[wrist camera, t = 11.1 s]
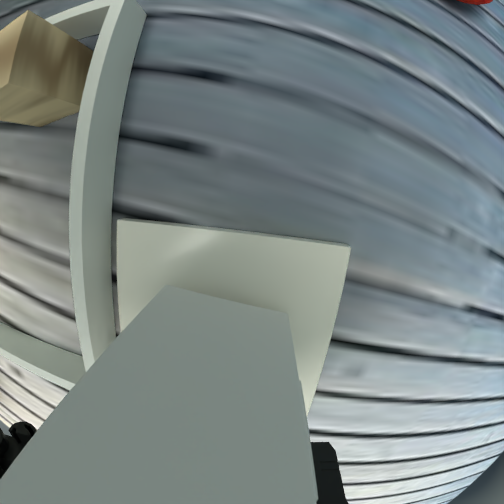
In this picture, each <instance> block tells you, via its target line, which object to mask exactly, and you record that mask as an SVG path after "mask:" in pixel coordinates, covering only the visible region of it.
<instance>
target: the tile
mask: <svg viewBox="0 0 504 504" xmlns="http://www.w3.org/2000/svg"><path fill="white" fill-rule="evenodd" d="M350 251H351V247H350V246H348V245H347V244H343V243H335V242H328V241H320V240H313V239H305V238H298V237H290V236H282V235H274V234H266V233H258V232H249V231H241V230H233V229H224V228H215V227H206V226H197V225H188V224H179V223H170V222H160V221H150V220H140V219H130V218H122V219H119V220H117V289H118V307H119V320H120V331H121V332H122V331H123V330H124V329H125V328H126V327H127V326H128V324H129V323H130V322H131V321H132V320H133V319H134V318H135V317H136V316H137V315H138V314H139V313H140V311H141V310H142V309H143V308H144V307H145V306H146V305H147V304H148V303H149V302H150V301H151V300H152V299H153V298H154V297H155V295H156V294H157V293H158V292H159V291H160V290H161V289H162V288H163V287H164V286H165V285H171V286H174V287H178V288H182V289H186V290H190V291H194V292H198V293H202V294H206V295H210V296H214V297H218V298H222V299H226V300H230V301H234V302H239V303H243V304H247V305H252V306H256V307H261V308H265V309H270V310H274V311H279V312H284V313H287V314H288V316H289V322H290V328H291V333H292V339H293V345H294V351H295V357H296V364H297V370H298V376H299V381H301V384H302V390H303V396H304V402H305V409H306V415H308V412H309V409H310V406H311V403H312V400H313V397H314V394H315V391H316V388H317V385H318V381H319V378H320V375H321V372H322V368H323V365H324V361H325V358H326V354H327V351H328V347H329V343H330V340H331V336H332V332H333V328H334V324H335V320H336V316H337V312H338V308H339V304H340V299H341V295H342V290H343V286H344V281H345V276H346V271H347V266H348V261H349V256H350Z"/></svg>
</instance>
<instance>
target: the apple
mask: <svg viewBox="0 0 504 504" xmlns="http://www.w3.org/2000/svg"><path fill="white" fill-rule="evenodd" d="M458 1H461V2H464V3H468V4H475V5H480V4H487V3H490V2H492V1H493V0H458Z"/></svg>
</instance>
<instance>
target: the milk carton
mask: <svg viewBox="0 0 504 504" xmlns="http://www.w3.org/2000/svg"><path fill="white" fill-rule="evenodd" d="M0 504H316V496H315V488H314V480H313V472H312V464H311V457H310V450H309V442H308V435H307V428H306V422H305V415H304V408H303V402H302V395H301V389H300V382H299V376H298V370H297V364H296V357H295V351H294V345H293V339H292V333H291V328H290V322H289V316H288V314H287V313H284V312H279V311H274V310H270V309H265V308H261V307H256V306H252V305H247V304H243V303H239V302H234V301H230V300H226V299H222V298H218V297H214V296H210V295H206V294H202V293H198V292H194V291H190V290H186V289H182V288H178V287H174V286H171V285H165V286H164V287H163V288H162V289H161V290H160V291H159V292H158V293H157V294H156V295H155V297H154V298H153V299H152V300H151V301H150V302H149V303H148V304H147V305H146V306H145V307H144V308H143V309H142V310H141V311H140V313H139V314H138V315H137V316H136V317H135V318H134V319H133V320H132V321H131V322H130V323H129V324H128V326H127V327H126V328H125V329H124V330H123V331H122V332H121V333H120V334H119V335H118V337H117V338H116V339H115V340H114V341H113V342H112V343H111V344H110V345H109V347H108V348H107V349H106V350H105V351H104V352H103V353H102V354H101V356H100V357H99V358H98V359H97V360H96V361H95V362H94V363H93V365H92V366H91V367H90V368H89V369H88V370H87V372H86V373H85V374H84V375H83V376H82V377H81V378H80V380H79V381H78V382H77V383H76V384H75V385H74V387H73V388H72V389H71V390H70V391H69V393H68V394H67V395H66V396H65V397H64V399H63V400H62V401H61V402H60V403H59V405H58V406H57V407H56V408H55V409H54V411H53V412H52V413H51V414H50V415H49V417H48V418H47V419H46V420H45V422H44V423H43V424H42V425H41V427H40V428H39V429H38V430H37V432H36V433H35V434H34V435H33V437H32V438H31V439H30V441H29V442H28V443H27V444H26V446H25V447H24V448H23V450H22V451H21V452H20V454H19V455H18V456H17V457H16V459H15V460H14V461H13V463H12V464H11V465H10V467H9V468H8V470H7V471H6V472H5V474H4V475H3V476H2V478H1V479H0Z"/></svg>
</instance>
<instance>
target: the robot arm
mask: <svg viewBox="0 0 504 504" xmlns="http://www.w3.org/2000/svg"><path fill="white" fill-rule="evenodd" d="M299 382H300V389H301V395H302V402H303V408H304V415H305V422H306V428H307V435H308V442H309V450H310V457H311V464H312V472H313V480H314V488H315V496H316V504H348V502H347V501H346V498H345V494H344V489H343V484H342V479H341V474H340V470H339V465H338V463H337V461H338V460H337V456H336V451H335V450H334V448H333V447H332V446H331V444H330V443H329V442H310V435H309V428H308V422H307V415H306V409H305V402H304V396H303V390H302V384H301V381H299ZM9 432H10V433H11V435H12V437H11V436H8V435H5V434H4V433H3V432H2V430H1V428H0V479H1V478H2V476H3V475H4V474H5V472H6V471H7V470H8V468H9V467H10V465H11V464H12V463H13V461H14V460H15V459H16V457H17V456H18V455H19V454H20V452H21V451H22V450H23V448H24V447H25V446H26V444H27V443H28V442H29V441H30V439H31V438H32V437H33V435H34V434H35V433H36V432H37V431H36V429H35V427H34V426H33V425H31V424H30V423H27V422H17V423H15V424H13V425H12V426H11V427H10V429H9Z"/></svg>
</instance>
